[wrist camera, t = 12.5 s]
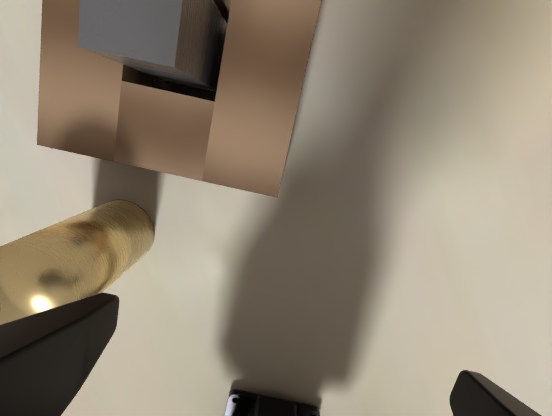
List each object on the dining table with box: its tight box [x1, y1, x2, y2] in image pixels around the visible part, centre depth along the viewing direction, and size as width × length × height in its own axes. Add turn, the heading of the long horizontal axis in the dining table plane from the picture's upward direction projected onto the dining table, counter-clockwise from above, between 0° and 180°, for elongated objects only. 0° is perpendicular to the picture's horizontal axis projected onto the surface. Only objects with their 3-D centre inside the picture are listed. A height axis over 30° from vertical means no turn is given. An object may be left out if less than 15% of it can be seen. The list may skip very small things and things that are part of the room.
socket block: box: [37, 0, 321, 197], centre depth 16 cm, size 12×12×4 cm
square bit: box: [78, 0, 227, 92], centre depth 14 cm, size 3×3×8 cm
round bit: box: [0, 200, 154, 325], centre depth 17 cm, size 4×4×8 cm
